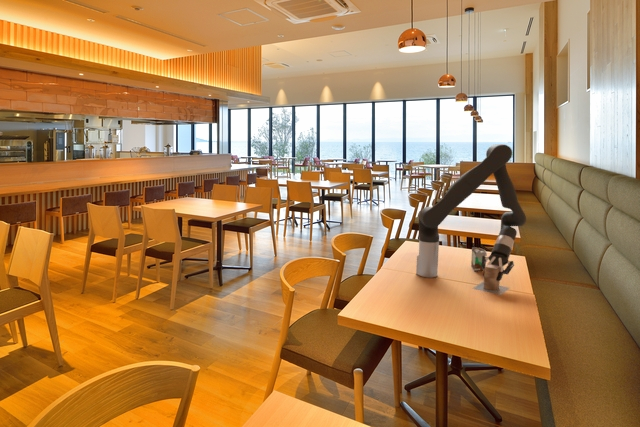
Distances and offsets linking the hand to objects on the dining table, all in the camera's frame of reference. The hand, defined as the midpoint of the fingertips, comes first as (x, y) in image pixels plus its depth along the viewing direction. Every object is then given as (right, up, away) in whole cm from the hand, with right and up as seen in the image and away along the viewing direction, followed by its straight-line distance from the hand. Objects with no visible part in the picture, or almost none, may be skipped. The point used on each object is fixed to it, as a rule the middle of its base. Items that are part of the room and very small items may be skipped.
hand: (491, 278), depth 180 cm
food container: (+6, 0, +29) cm, 30 cm away
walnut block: (+1, -4, +2) cm, 5 cm away
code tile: (+1, -4, +2) cm, 5 cm away
